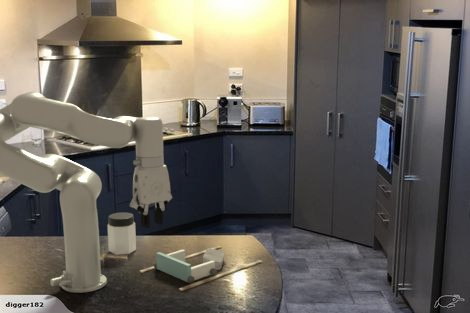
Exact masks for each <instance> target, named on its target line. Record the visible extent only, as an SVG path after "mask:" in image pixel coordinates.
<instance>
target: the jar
mask: <svg viewBox="0 0 470 313" xmlns="http://www.w3.org/2000/svg"><path fill="white" fill-rule="evenodd" d="M107 244H108V245H107V246H108V252H110V253H111V254H113V255H115V256H117V255H119V256H120V255H130V254H131V253H133V252H135V251H136V250H137V237H136V222H135V216H134V214H133V213H131V212H115V213H112V214H109V215H108V224H107Z"/></svg>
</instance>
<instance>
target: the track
mask: <svg viewBox="0 0 470 313" xmlns="http://www.w3.org/2000/svg"><path fill="white" fill-rule="evenodd" d="M211 249H214V250H219V249H222V246H220V245H218V246H215V247H211ZM206 250H207V249H205V250H202V251H198V252H195V253H192V254H190V255H189V254H188V255H185V260H188V259H192V258H193V257H194V258H195V257H197V256H201V255H204V253H205V251H206ZM260 263H263V260H260V259H259V260H256V261H253V262H251V263H248V264H245V265H242V266H239V267H236V268H234V269H231V270H227V271H224V272H222V273H221V272H220V273H218V274H216V275H214V276H213V275H212V276H210V277H208V278H205V279H202V280H199V281H196V282H193V283H189V284H187V285H184V286H182V287H180V288H178V290H179V291H180V292H182V291H186V290H189V289H191V288H194V287H197V286H200V285H202V284H205V283H209V282H211V281H214V280H217V279H219V278H222V277H225V276H228V275H230V274H233V273H236V272H238V271H243V270H245V269H247V268H250V267H253V266H255V265H258V264H260ZM155 269H156V268H154V265H153V266H150V267H146V268H144V269H140V270H139V272H140V273H141V274H143V273H147V272H149V271H152V270H155Z"/></svg>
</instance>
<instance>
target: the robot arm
mask: <svg viewBox="0 0 470 313" xmlns="http://www.w3.org/2000/svg"><path fill="white" fill-rule="evenodd" d="M163 126H164V125H163V121H162V119H161V118H160V117H157V116H144V117H143V116H141V117H136V116H128V115H127V116H126V115H119V116H118V115H117V117H114V118H107V117H104V116H98V115H94V114H91V113H89V112H87V111H84V110H82V109H81V108H80V107H78V106H77V105H75V104H73V103H70V102H65V101H60V100H55V99H52V98H46V96H44V95H43V94H42V93H39V92H35V91H29V92H25V93H21V94H19V95H17V96H16V97H15V98H13V99H12V101H11V102H10V103H9V104H7V105H6V106H4V107H2V108H0V174H1V175H2V176H5V177H7V178H9V179H11V180H13V181H15V182H17V183H19V184H21V185H23V186H25V187H28V188H29V189H32V190H34V191H35V192H38V193H43V194H44V193H45V194H46V193H50V192H51V191H53V190H58V191H60V192H59V204H60V210H61V216H62V225H63V227H62V228H63V236H64V237H63V239H64V256H65V270H63V271H62V274H61V275H60V276H58V277H54V278H51V279H50V281H49V282H50V286H52V287H53V286H57V285H59V286H60V287H61V289H63V290H64V291H66V292H69V293H78V294H79V293H81V294H82V293H89V292H94V291H97V290H99V289H100V290H101V289H102V288H103V287H105V286H106V285H107V283H108V279H107V276H105V275H104V274H102V270H101V267H102V266H101V250H100V249H101V248H100V229H99V228H100V227H99V217H98V209H97V199H98V197H99V196H100V194H101V192H102V187H103V186H102V185H103V184H102V181H101V178H100V176H99V175H98V174H97V173H96V172H95V171H94V170H92V169H90V168H87V167H86V166H83V165H81V164H80V163H77V162H74V161H72V160H70V159H69V158H66V157H64V156H62V155H58V154H55V153H46V154H42V155H41V156H39V155H35V154H33V153H31V152H28V151H26V150H25V149H22V148H20V147H18V146H14V145H11V144H9V143H8V142H7V141H8V140H11V139H12V138H14V137H15V136H17V135H18V134H20V133H22V132H24V131H25V130H27V129H29V128H34V129H39V130H43V131H48V132H53V133H57V134H62V135H64V136H65V135H66V136H68V137H71V138H74V139H77V140H79V141H82V142H84V143H85V142H86V143H89V144H93V145H97V146H102V147H105V148H106V147H107V148H112V149H121V148H124V147H126V146H128V145H129V144H130V143H131V142H135V159H134V160H132V161H133V162H132V163H133V166H135V167H134V171H133V179H132V199H131V201H130V203H129V207H130V208H132V209H135V210H136V211H137V212H138V213H139V214H140V224H141V225H140V226H141V227H142V228H145V229H150V227H151V224H150V223H151V222H150V221H151V220H150V218H151V217H150V216H151V215H150V213H149V214H148V212H149V205H153V204H154V206H155V208H154V209H153V217H154V218H153V219H154V224H156V225H160V226H162V225H164V211H165V208H166V206H167V204H168V203H169V202H170V201H171V200H172V199H173V195H172V193H171V182H170V176H169V170H168V167H167V165H166V164H165V163H164V162H165V160H164V127H163ZM138 203H139V204H138Z"/></svg>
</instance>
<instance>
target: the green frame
mask: <svg viewBox="0 0 470 313" xmlns="http://www.w3.org/2000/svg"><path fill="white" fill-rule="evenodd" d="M185 256H186V250H185V249H180V250H176V251H173V252H170V253H167V254H166V253H163V252H161V251H159V252H156V253H155V258H156V261H155V262H154V264H153V266H154V268H156V269H157V270H158V271H161V272H163V273H166V274H167V275H170V276H173V277H175V278H176V279H179V280H182V281H184V282H187V283H188V284H193V283H195V281H197V280H199V279H201V278H204V277H208V276H210V275H211V276H212V277H213V276H216V275H217V273H218V270H216V269H215V261H209V262H206V263H204V262H203V263H200V264H197V265H194V266H192V264H190V263H188V262H186V260H187V259H185Z"/></svg>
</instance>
